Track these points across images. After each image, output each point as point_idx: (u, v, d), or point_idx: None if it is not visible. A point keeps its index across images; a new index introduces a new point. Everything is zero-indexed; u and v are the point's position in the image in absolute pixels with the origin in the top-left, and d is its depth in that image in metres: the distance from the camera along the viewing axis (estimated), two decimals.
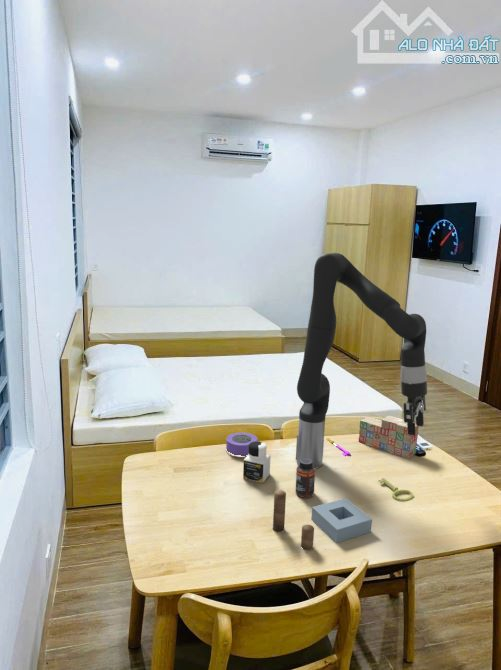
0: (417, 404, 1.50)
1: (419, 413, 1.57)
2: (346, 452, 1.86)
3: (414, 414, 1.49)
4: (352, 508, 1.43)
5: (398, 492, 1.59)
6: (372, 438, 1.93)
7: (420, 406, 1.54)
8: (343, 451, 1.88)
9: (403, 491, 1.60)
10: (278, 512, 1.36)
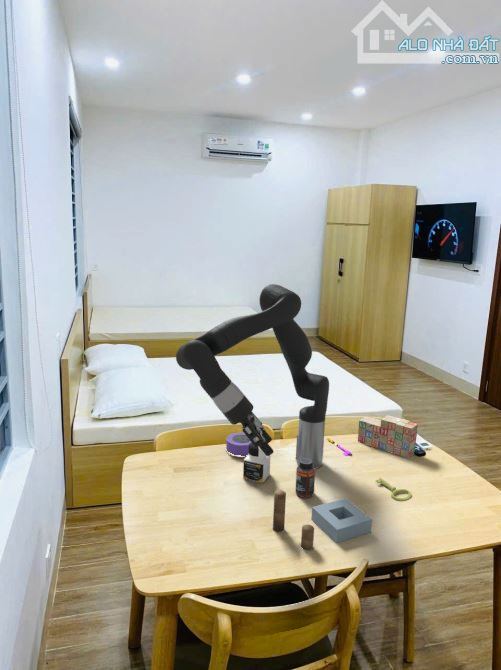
0: None
1: None
2: (347, 452, 1.86)
3: None
4: (352, 508, 1.43)
5: (396, 492, 1.59)
6: (371, 438, 1.94)
7: None
8: (344, 451, 1.88)
9: (401, 490, 1.60)
10: (278, 512, 1.36)
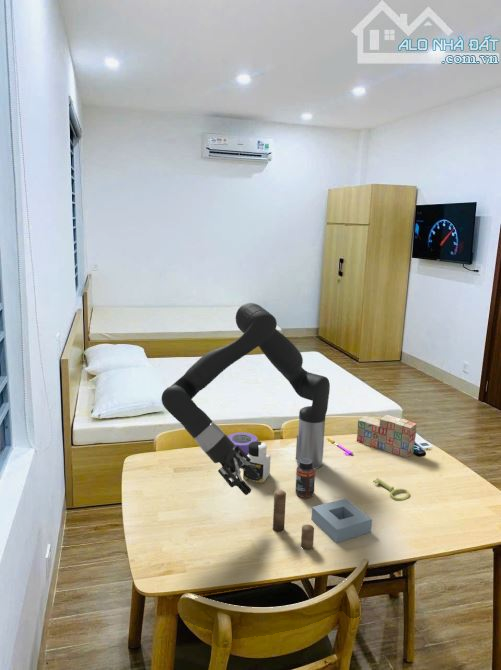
0: None
1: None
2: (348, 452, 1.87)
3: None
4: (352, 508, 1.43)
5: (395, 491, 1.59)
6: (370, 438, 1.94)
7: (231, 471, 1.37)
8: (345, 451, 1.89)
9: (399, 490, 1.60)
10: (278, 512, 1.36)
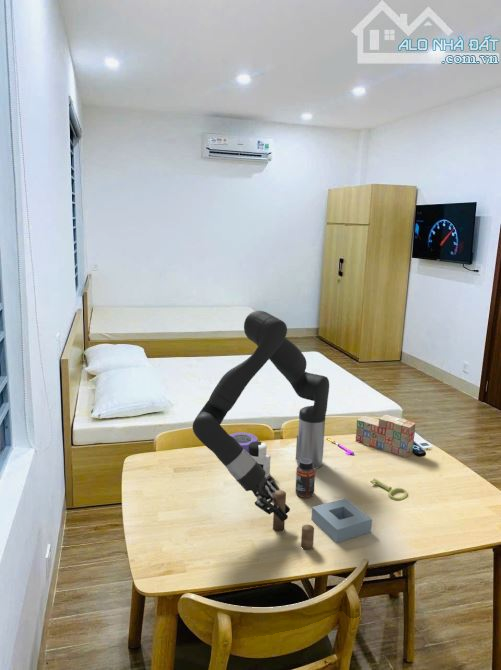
0: None
1: None
2: (349, 451, 1.87)
3: None
4: (352, 508, 1.43)
5: (393, 491, 1.60)
6: (369, 437, 1.94)
7: None
8: (346, 450, 1.89)
9: (397, 489, 1.61)
10: None
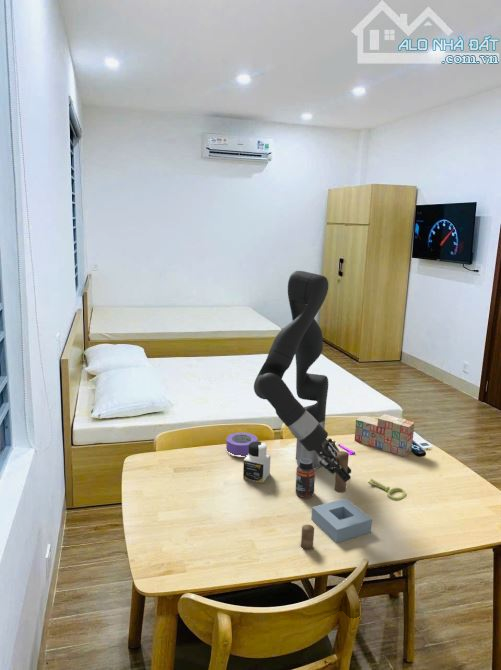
0: None
1: None
2: (350, 451, 1.87)
3: None
4: (352, 508, 1.43)
5: (391, 491, 1.60)
6: (368, 437, 1.94)
7: None
8: (347, 450, 1.89)
9: (395, 489, 1.61)
10: None
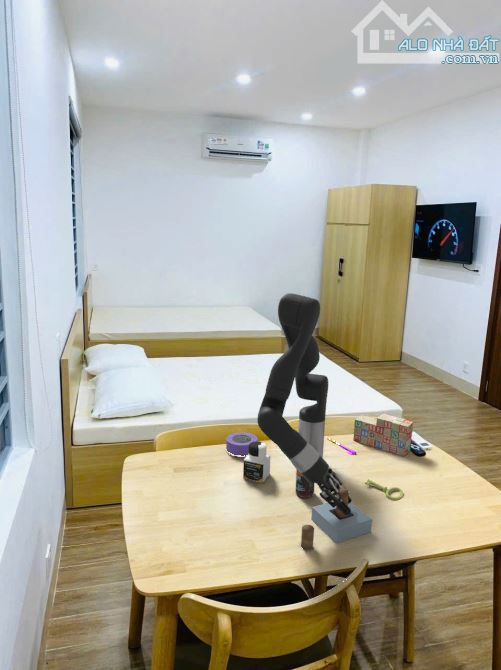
0: None
1: None
2: (351, 451, 1.87)
3: None
4: (352, 508, 1.43)
5: (389, 491, 1.60)
6: (367, 437, 1.95)
7: None
8: (348, 450, 1.89)
9: (392, 489, 1.61)
10: None
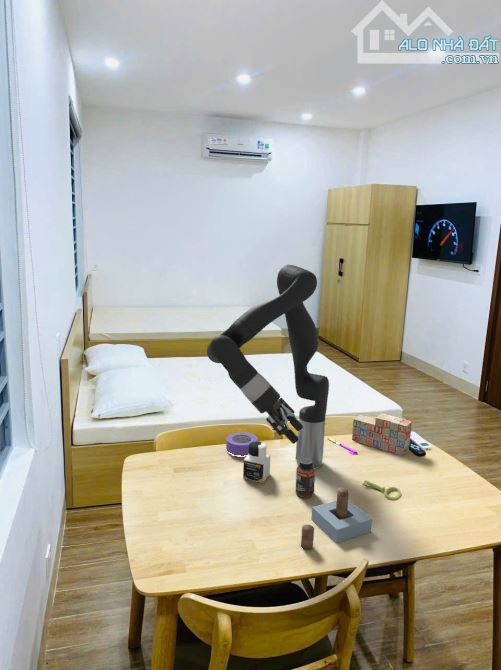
0: None
1: None
2: (353, 450, 1.88)
3: None
4: (352, 508, 1.43)
5: (387, 491, 1.60)
6: (366, 436, 1.95)
7: None
8: (349, 450, 1.89)
9: (390, 488, 1.61)
10: (342, 509, 1.39)
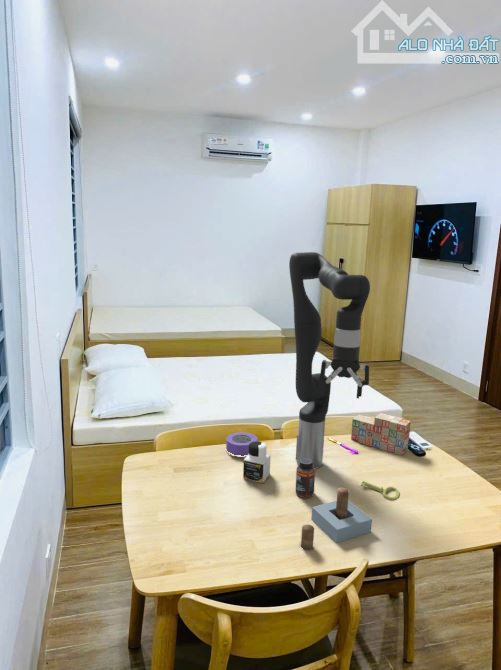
0: (337, 368, 1.45)
1: None
2: (353, 450, 1.88)
3: (330, 375, 1.46)
4: (352, 508, 1.43)
5: (385, 491, 1.59)
6: (365, 436, 1.95)
7: None
8: (350, 449, 1.90)
9: (388, 488, 1.61)
10: (342, 509, 1.39)
